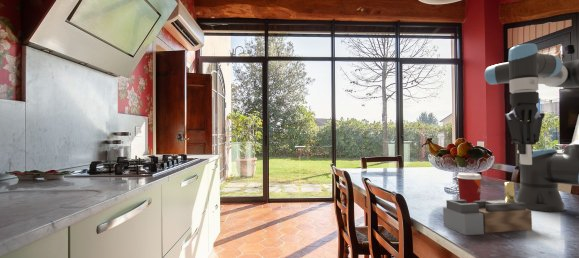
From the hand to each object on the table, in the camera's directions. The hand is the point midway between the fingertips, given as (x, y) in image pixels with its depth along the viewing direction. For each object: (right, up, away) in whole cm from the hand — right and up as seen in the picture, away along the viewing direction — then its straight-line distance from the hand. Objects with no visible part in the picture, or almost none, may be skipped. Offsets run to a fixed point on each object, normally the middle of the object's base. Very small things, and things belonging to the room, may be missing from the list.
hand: (526, 164), depth 98 cm
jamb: (-23, -20, -4) cm, 31 cm away
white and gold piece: (-9, -14, -2) cm, 16 cm away
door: (-10, -20, -2) cm, 23 cm away
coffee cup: (-10, -21, +14) cm, 27 cm away
